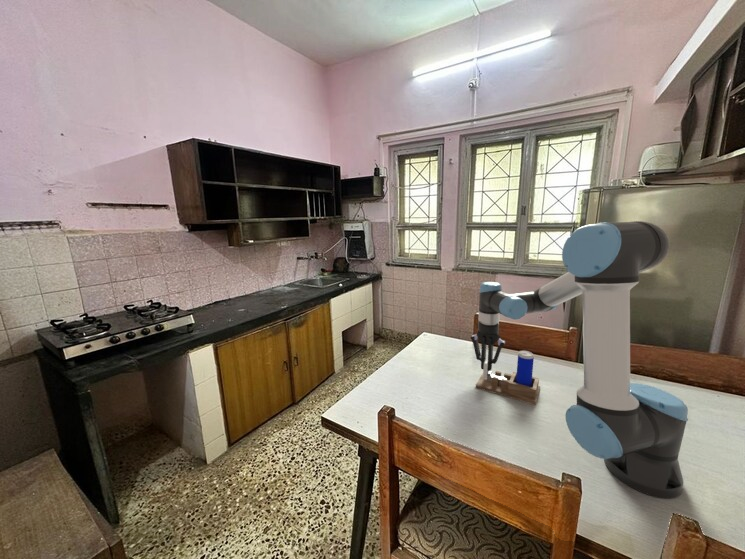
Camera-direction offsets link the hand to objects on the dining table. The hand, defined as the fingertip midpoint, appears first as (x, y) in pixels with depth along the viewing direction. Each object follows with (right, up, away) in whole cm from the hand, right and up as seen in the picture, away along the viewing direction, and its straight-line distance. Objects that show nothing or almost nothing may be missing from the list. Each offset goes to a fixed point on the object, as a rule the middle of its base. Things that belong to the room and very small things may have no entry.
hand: (485, 376), depth 119 cm
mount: (+7, -3, -4) cm, 8 cm away
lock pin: (+4, -1, -2) cm, 4 cm away
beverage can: (+11, -3, -7) cm, 14 cm away
